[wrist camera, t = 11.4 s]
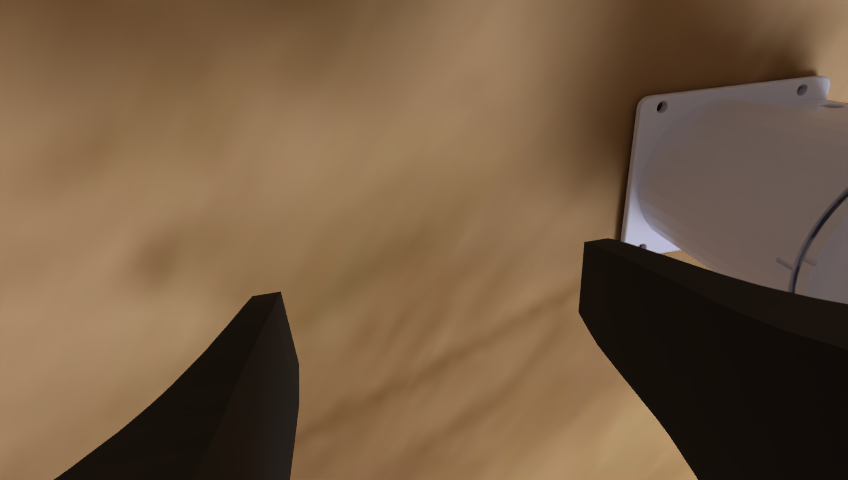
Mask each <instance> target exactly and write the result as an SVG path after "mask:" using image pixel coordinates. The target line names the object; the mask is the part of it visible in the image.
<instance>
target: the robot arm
mask: <svg viewBox="0 0 848 480" xmlns="http://www.w3.org/2000/svg"><path fill="white" fill-rule="evenodd" d="M799 87H800V89H799V91H798V92H797V90H798V88H799ZM829 88H830V80H829V78H828V77H825V76H810V77H801V78H793V79H784V80H776V81H768V82H759V83H751V84H742V85H734V86H725V87H717V88H708V89H700V90H692V91H683V92H675V93H666V94H658V95H649V96H646V97H644V98H643V99H641V100H640V102H639V103H638V106H637V110H636V118H635V126H634V135H633V143H632V151H631V159H630V168H629V176H628V184H627V192H626V201H625V209H624V217H623V225H622V233H621V241H618V240H614V239H609V238H607V239H601V240H595V241H589V242H584V254H583V266H582V278H581V290H580V302H579V314H580V316H581V317H582V319H583V321H584V323H585V325H586V326H587V328H588V330H589V332H590V333H591V335H592V336H593V338H594V340H595V341H596V343H597V345H598V346H599V347H600V349H601V350H602V351H603V352H604V354H605V355H606V356H607V358H608V359H609V360H610V361H611V363H612V364H613V365H614V366H615V368H616V369H617V370H618V371H619V373H620V374H621V375H622V376H623V378H624V379H625V380H626V381H627V382H628V384H629V385H630V386H631V387H632V389H633V390H634V391H635V392H636V394H637V395H638V396H639V397H640V399H641V400H642V401H643V402H644V403H645V405H646V406H647V407H648V408H649V410H650V411H651V412H652V413H653V415H654V416H655V417H656V418H657V420H658V421H659V422H660V424H661V425H662V426H663V428H664V429H665V430H666V432H667V433H668V434H669V436H670V437H671V439H672V440H673V442H674V443H675V445H676V446H677V448H678V449H679V451H680V452H681V454H682V456H683V457H684V459H685V460H686V462H687V463H688V465H689V466H690V468H691V469H692V471H693V472H694V474H695V475H696V477H697V479H698V480H848V103H843V102H837V101H831V100H826V98H827V94H828V91H829ZM660 102H662V107H661V109H660V110H659V111H657V106H658V104H659V103H660ZM641 244H642V246H641V247H638V246H639V245H641ZM677 250H682V251H684V252H685V253H687V254H688V255H690V256H691V257H693V258H694V259H696V260H697V261H699V262H700V263H702V264H703V265H705V266H706V267H708V268H709V269H711V270H712V271H710V270H707V269H704V268H701V267H698V266H695V265H692V264H689V263H686V262H683V261H680V260H677V259H674V258H671V257H668V256H665V255H662V254H659V253H665V252H671V251H677ZM713 271H714V272H713ZM298 409H299V363H298V359H297V355H296V351H295V347H294V343H293V339H292V335H291V331H290V327H289V323H288V319H287V315H286V311H285V307H284V303H283V299H282V295H281V292H276V293H270V294H263V295H257V296H252V297H251V299H250V300H249V301H248V302H247V303H246V304H245V305H244V306H243V308H242V309H241V310H240V311H239V312H238V314H237V315H236V316H235V317H234V318H233V320H232V321H231V322H230V323H229V324H228V325H227V327H226V328H225V329H224V330H223V331H222V332H221V333H220V335H219V336H218V337H217V338H216V339H215V340H214V341H213V343H212V344H211V345H210V346H209V347H208V348H207V349H206V351H205V352H204V353H203V354H202V355H201V356H200V357H199V358H198V359H197V360H196V361H195V362H194V363H193V364H192V365H191V366H190V367H189V368H188V369H187V370H186V371H185V372H184V373H183V374H182V375H181V376H180V377H179V378H178V379H177V380H176V381H175V382H174V383H173V384H172V385H171V386H170V387H169V388H168V389H167V390H166V391H165V392H164V393H163V394H162V395H161V396H160V397H159V398H157V399H156V400H155V401H154V402H153V403H152V404H151V405H150V406H149V407H147V408H146V409H145V410H144V411H143V412H142V413H140V414H139V415H138V416H137V417H136V418H135V419H133V420H132V421H131V422H130V423H129V424H127V425H126V426H125V427H124V428H123V429H121V430H120V431H119V432H118V433H116V434H115V435H114V436H112V437H111V438H110V439H108V440H107V441H106V442H104V443H103V444H102V445H100V446H99V447H98V448H96V449H95V450H94V451H92V452H91V453H90V454H88V455H87V456H86V457H84V458H83V459H82V460H80V461H79V462H78V463H76V464H75V465H74V466H73V467H71V468H70V469H68V470H67V471H66V472H64V473H63V474H61V475H60V476H59V477H57V478H56V479H54V480H290V474H291V466H292V458H293V450H294V442H295V434H296V426H297V418H298Z"/></svg>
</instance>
